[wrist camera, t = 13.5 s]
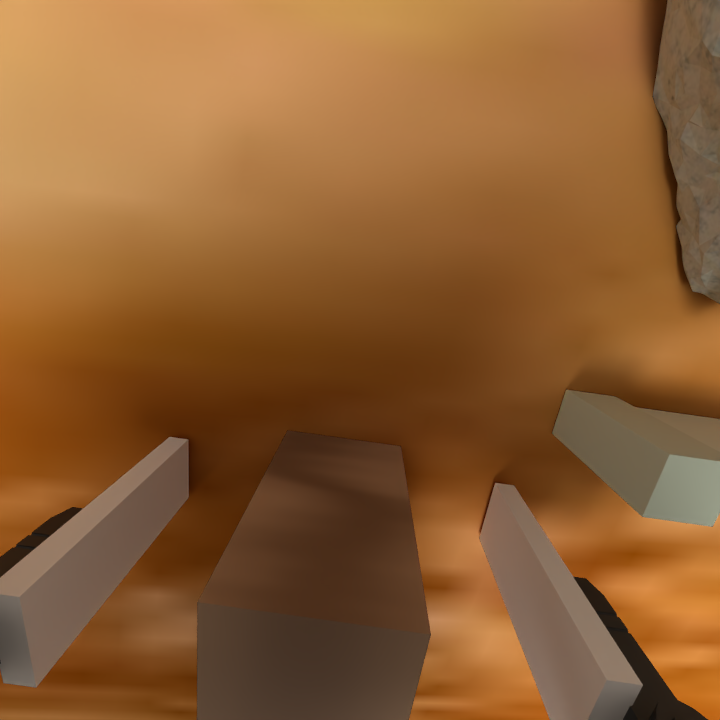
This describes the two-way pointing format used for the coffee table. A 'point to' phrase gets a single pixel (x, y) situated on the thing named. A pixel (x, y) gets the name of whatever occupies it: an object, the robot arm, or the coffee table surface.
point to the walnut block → (317, 592)
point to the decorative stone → (694, 132)
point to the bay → (646, 455)
